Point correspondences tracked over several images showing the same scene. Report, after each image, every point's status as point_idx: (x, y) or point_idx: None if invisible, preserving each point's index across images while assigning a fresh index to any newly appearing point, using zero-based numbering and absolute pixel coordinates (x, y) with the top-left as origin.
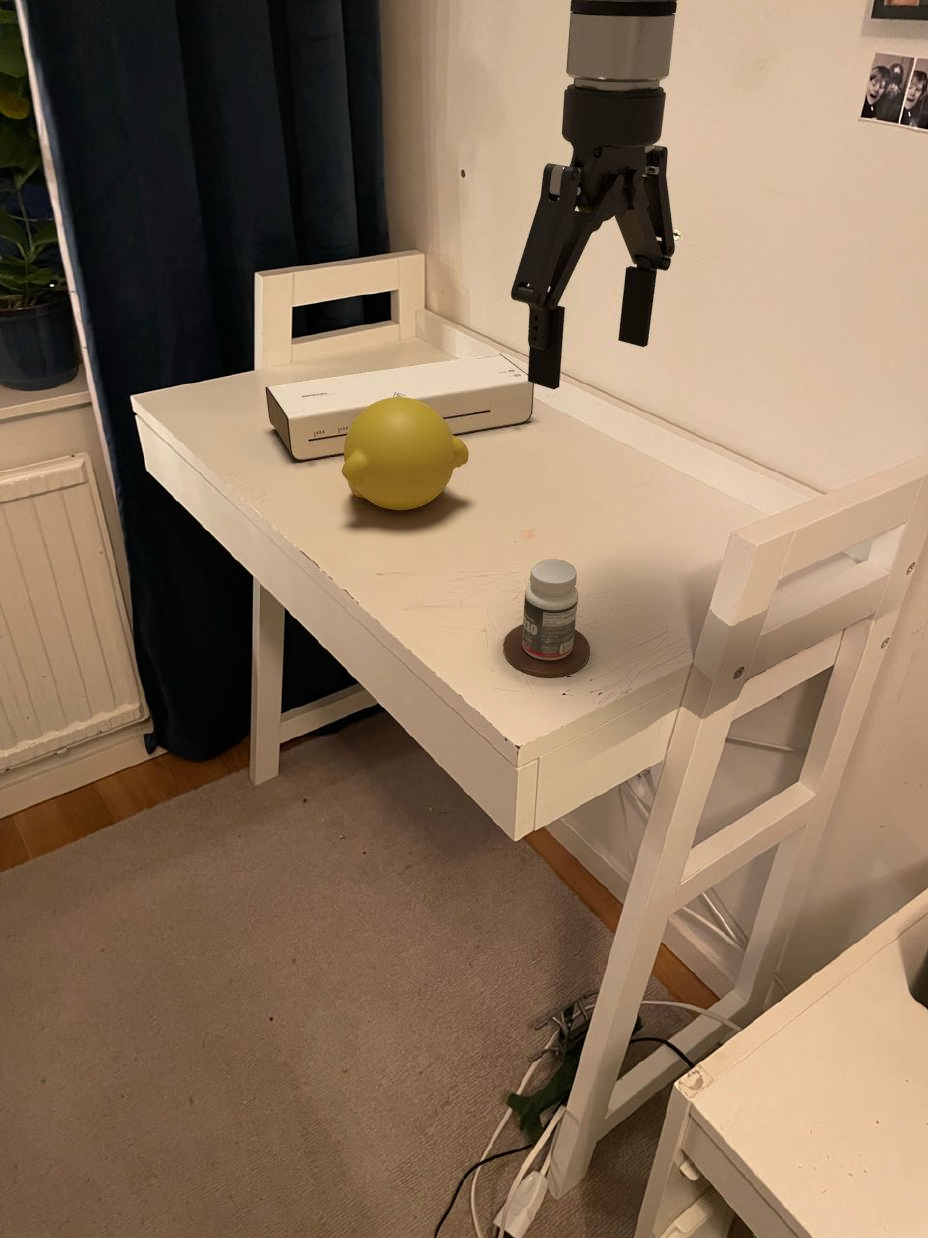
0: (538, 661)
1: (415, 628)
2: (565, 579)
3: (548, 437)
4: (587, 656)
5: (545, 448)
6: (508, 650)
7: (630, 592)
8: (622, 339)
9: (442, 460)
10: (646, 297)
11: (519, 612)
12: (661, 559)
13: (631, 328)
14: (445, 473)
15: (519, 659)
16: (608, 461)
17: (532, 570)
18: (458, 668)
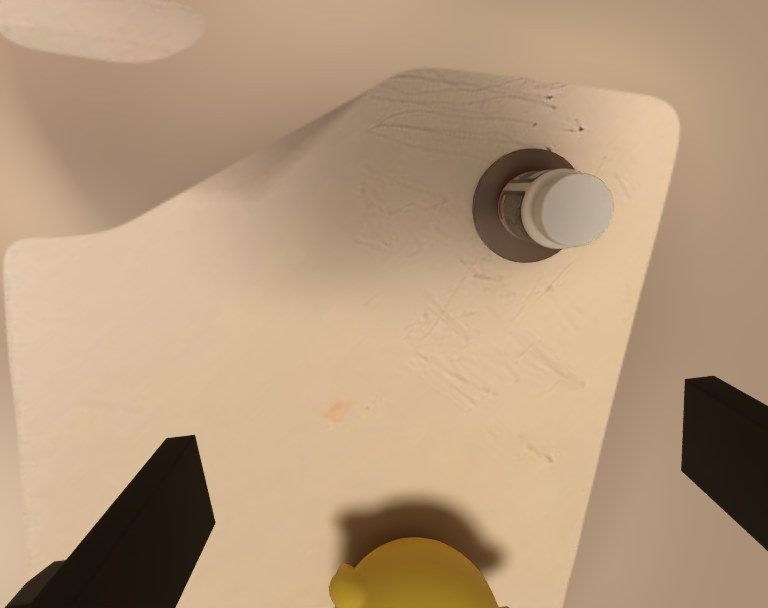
0: None
1: (603, 347)
2: (587, 179)
3: None
4: (510, 154)
5: None
6: None
7: (341, 221)
8: (209, 513)
9: (405, 574)
10: (106, 576)
11: (487, 288)
12: (239, 246)
13: (187, 516)
14: (397, 556)
15: None
16: (85, 480)
17: (599, 234)
18: (628, 254)
